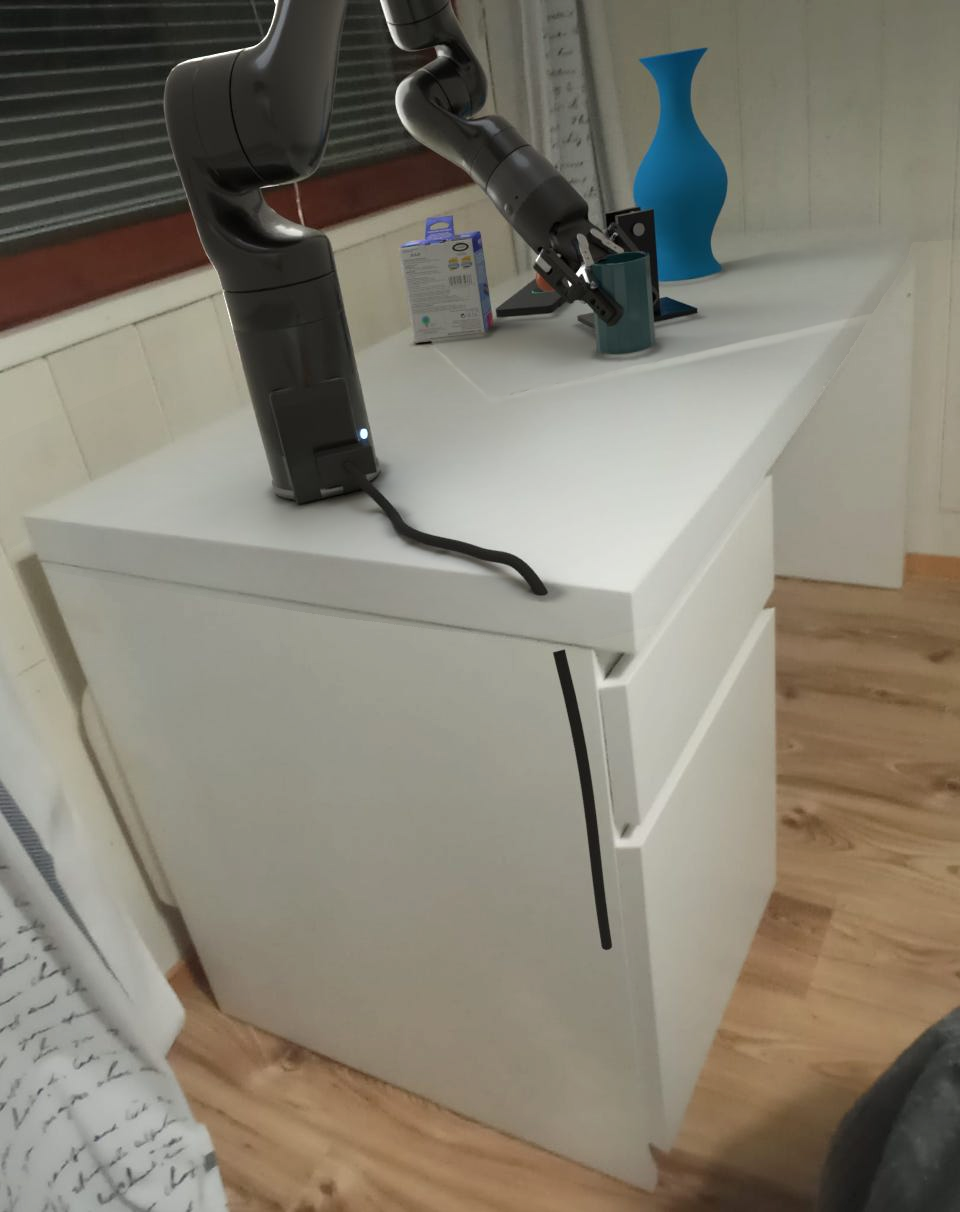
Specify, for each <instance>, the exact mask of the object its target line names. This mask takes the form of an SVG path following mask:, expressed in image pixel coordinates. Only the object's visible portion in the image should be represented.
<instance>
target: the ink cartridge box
mask: <svg viewBox="0 0 960 1212" xmlns="http://www.w3.org/2000/svg"><path fill="white" fill-rule="evenodd" d="M438 223H443V224H448V226H447V227H444V228H436V229H435V228H433V229H431V226H433V225H436V224H438ZM454 226H455V225H454V215H446V216H445V215H444V216H437V217H427V218H425V230H424V231H425V233H424V235H425V236H424V238H423V239H418V240H411V241H407V242H405V243H404V244H402V245H400V247H398V253H399V259H400V265H401V271H402V276H403V282H404V287H405V294H406V300H407V305H408V311H409V317H410V321H411V328H412V334H413V340H414V344H419V343H428V342H431V339H438V338H447V337H454V336H455V337H456V336H464V335H465V336H466V335H476V334H483V333H486V332H488V330H489V329H490V328H491V327H492V326H493V325H494V316H493V310H492V303H491V302H492V301H491V296H490V288H489V281H488V275H487V268H486V260H485V254H484V253H485V252H484V247H483V246H484V245H483V241H482V233H481V230H477V231H476V230H475V231H469V232H463V233H461V232H460V233H456V234H455V228H454Z"/></svg>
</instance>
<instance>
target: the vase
mask: <svg viewBox="0 0 960 1212" xmlns="http://www.w3.org/2000/svg"><path fill="white" fill-rule="evenodd" d="M708 49H709V47H707V46H705V47H699V48H692V49H687V50H681V51H675V52H670V53H664V54H658V55H652V56H648V57H647V56H645V57H641V58H638V62H640V63H641V64H642V65H643V66H644V68H646V70H647V71H648V72H649V73H650V74H651V76H652V78H653V80H654V82H655V84H656V88H657V92H658V99H659V119H658V124H657V126H656V127H657V128H656V130H655V134H654V137H653V138H652V142H651V143H650V145H649V148H648V150H647V151H646V153H645V155H644V157H643V159H642V160H641V162H640V164H639V165H638V168H637V171H636V173H635V178H634V179H633V180H634V181H633V186H632V187H633V188H632V196H633V201H634V205H635V206H634V207H636V206H638V207H641V211H642V210H647V209H654V220H655V235H656V251H657V266H658V281H659V282H678V281H688V280H693V279H694V280H695V279H699V278H705V277H708V276H711V275H715V274H717V273H719V272H721V271H722V269H723V267H722V265H721V264H720V263H719V262H718V260H717V259H716V258H715V256H714V253H713V249H712V236H713V233H714V229H715V227H716V223H717V221H718V219H719V216H720V214H721V212H722V209H723V207H724V205H725V201H726V198H727V191H728V186H729V185H728V183H729V179H728V173H727V169H726V166H725V164H724V162H723V160H722V158H721V157H720V155H719V153H718V151H716V149H715V148H714V147H713V146H712V145H711V143H710V142H709V141H708V139H707V138H706V136H705V135H704V134H703V132H702V131H701V129H700V127H699V125H698V122H697V120H696V118H695V115H694V111H693V108H692V107H693V106H692V82H693V78H694V73H695V71H696V69H697V67H698V65H699V63H700V61H701V60H702V59H703V56H704V55H705V53H706V52H707V51H708Z"/></svg>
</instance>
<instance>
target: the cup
mask: <svg viewBox="0 0 960 1212" xmlns="http://www.w3.org/2000/svg"><path fill="white" fill-rule="evenodd" d="M605 257H608V259H607V260H606V261H604V262H598V263H597V264H596V263H593V264H592V271H593V274H594V276H595V277H596V279H597V281H598V284H599V287H598V288H600V287H602V288H603V289H604V290H605V291H606V292H607V293H608V294H609V295H610V296H611V297H612V298H613V300H614V301H615V302H616V303H617V304H618V305H619V306H620V307H621V309H622V310H623V315H622V317H621V318H620V319H619V321H618V322H617V323H616V324H615V325H613V326H611V327H610V326H608V325H607V324H606V323H605V322H604V321H602V320H601V319H600V318H599V316H598V315H597V314H596V313H595V312H594V311H593V310H592V312H593V314H594V324H595V329H594V333H595V342H596V343H595V344H596V351H597V352H599V353H600V354H606V355H622V354H623V355H624V354H631V353H636V352H637V353H638V352H641V351H644V350H647V349H651V348H652V347H654V346H655V345H656V344H657V343H656V342H657V341H656V329H655V328H656V327H655V326H656V325H655V322H654V312H653V298H652V284H651V269H650V255H649V253H648V252H643V251H631V252H621V253H616V254H608V255H606V256H605Z"/></svg>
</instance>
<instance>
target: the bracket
mask: <svg viewBox="0 0 960 1212" xmlns="http://www.w3.org/2000/svg"><path fill="white" fill-rule="evenodd" d="M631 211H634V212H631ZM629 212H631V213H629ZM602 220H603V230H604V229H607V228H608V227H609V225H610V224H611V223H612V222H615V221H616V224H618V225H619V226H620V228H621V229H622V230H623V231H624V233H625V234H626V235H627V236H628V237H629V239H630V240H631V241H632V242H633V244H634V245H635V246H636V247H637V248H638V250H639V251H643V252H648V253H649V255H650V269H651V284H652V286H653V287H654V288H655V289H656V290H657V291H658V293H659V294H660V281H658V266H657V251H656V235H655V220H654V209H647V210H642V211H641V207H638V206H631V207H626V208H621V209H617V210H612V211H606V212H603V213H602ZM653 312H654V323H659V322H663V321H667V320H672V319H676V318H682V317H685V316H691V315H694V314H698V307H695V306H693V305H691V304H687V303H685V302H682V301H680V300H676V299H674V298H671V297H668V296H664V297H659V299H658V300H657V301H656V303H655V304H654V305H653ZM576 317H577V318H576V319H577V321H578V322H580V323H582V324H584V325H585V326H587V327H590V328H591V329H593V330H595V324H594V314H593V311H592V312H589V313H588V312H587V313H583V314H579V315H577V316H576Z"/></svg>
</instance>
